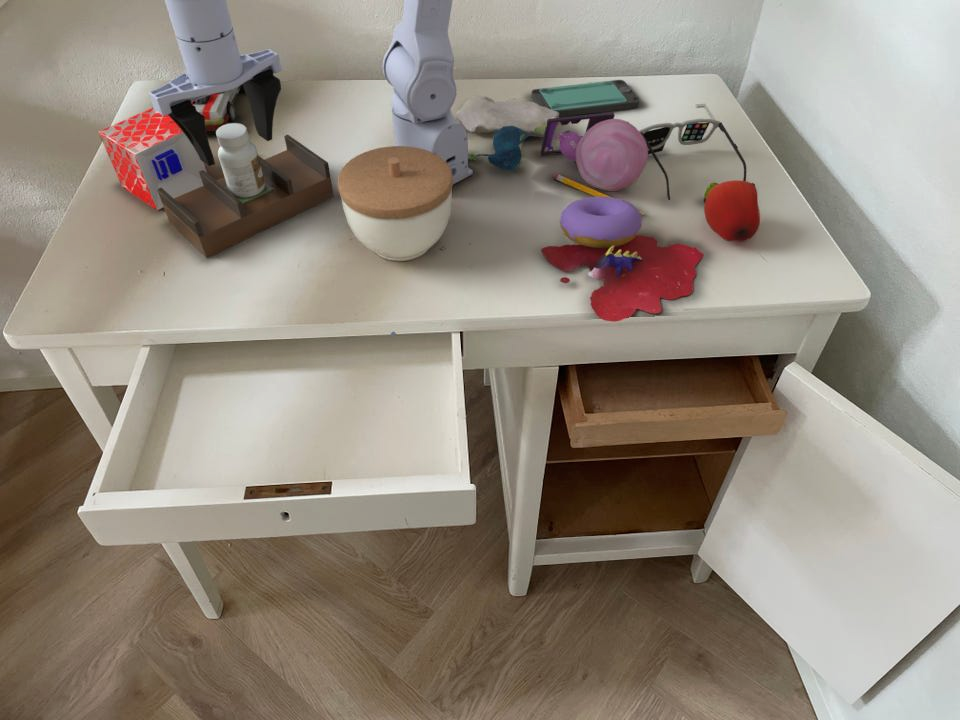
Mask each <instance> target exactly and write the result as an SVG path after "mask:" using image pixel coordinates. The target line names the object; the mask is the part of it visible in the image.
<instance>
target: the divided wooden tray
mask: <svg viewBox="0 0 960 720" xmlns="http://www.w3.org/2000/svg"><path fill="white" fill-rule="evenodd" d="M283 137H284V142H285V146H286V150H284V151H283V150H282V151H281V152H279V153H277V154H274V155H272V156H270V157H267V158H265V159H264V158H263V157H261V156H260V155H259V154H258V157H259V161H260V165H261V169H262V173H263V176H264V180H265V188H264V189H263V191H262V192H260V193H259V194H257V195H255V196H252V197H247V198H240V197H236V196H234V195H233V194H232V193H230V192H229V190H228V187H227V183H226V180H225V177H224V176H223V177H220V178H218V179H215V178H214V177H212V176H211V175H210V174H209V173H208V172H207V173H206V172H205V171H204V170H202V171H199V173H200V177H201V180H202V183H203V185H204V186H202V187H199V188H197V189H195V190H192V191H190V192H188V193H185V194H183V195H181V196H179V197H176V198H172V197H171V196H170V195H169V194H168V193H167V192H166V191H165V190H164V189H163V188H159V189H157V191H158V194H159V196H160V199H161V201H162V204H163V209H164V211H165V214H166V217H167V220H168V223H169V225H170V226H172V227H173V229H175V230H176V231H177V232H178V233H179V234H181V236H182V237H183V238H185V240H186V241H188V243H190V244H191V245H192V246H193V247H194V248H195V249H196V250H197V251H198V252H199V253H201V255H203V257H204V258H206V259H208V258H210V257H213V256H215V255H217V254H219V253H221V252H223V251H226V250H227V249H229V248H231V247H233V246H235V245H238V244H239V243H242V242H244V241H246V240H248V239H250V238H252V237H254V236H255V235H258V234H260V233H262V232H264V231H266V230H269V229H270V228H272V227H275V226H276V225H280V224H281V223H283V222H285V221H287V220H289V219H292V218H294V217H296V216H298V215H299V214H302V213H304V212H306V211H308V210H310V209H312V208H314V207H317V206H319V205H320V204H322V203H324V202H326V201H328V200H330V199H332V198H334V197H335V194H334V187H333V183H332V177H331V171H330V165H329V162H328V161H326V160H325V159H324V158H322V157H321V156H319V155H318V154H317V153H315V152H314V151H312V150H311V149H309V148H308V147H307V146H305V145H303V144H302V143H301V142H299V141H298V140H297V139H295V138H294V137H292V136H291V135H289V134H286V135H284V136H283Z"/></svg>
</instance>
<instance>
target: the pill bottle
mask: <svg viewBox="0 0 960 720" xmlns="http://www.w3.org/2000/svg"><path fill="white" fill-rule="evenodd" d="M215 134H216V139H217V142H218V144H219V145H218V146H219V148H218V150H217V156H218V159H219V163H220V166H221V169H222V173H223V177H225V180H226V183H227V187H228V190H229V192H230V193H232V194H233V195H234V196H236V197H240V198H247V197H252V196H255V195H257V194H259V193H260V192H262V191H263V189H264V188H265V180H264V176H263V173H262V169H261V165H260V161H259V157H258V155H259V153H258V150H257V146H256V145H255V144H254V142H252V141H250V135H249V132H248V128H247V126H245V125H244V124H242V123H239V122H238V123H237V122H229V123H226V125H223V126H221V127H220V128H218V129H217V130H215Z"/></svg>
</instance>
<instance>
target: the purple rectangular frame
mask: <svg viewBox="0 0 960 720" xmlns="http://www.w3.org/2000/svg"><path fill="white" fill-rule="evenodd" d="M615 116H616V115H615V113H614V111H609V112H599V113H590V114H582V115H573V116H565V117H558V118H555V117H552V118H550V119H548V120H547V127H546V129H545V133H544V137H542V141H541V145H540V146H541V147H540V155H541V156H548V155H556V154H557V155H558V154H562V155H563V157H565V158H566V159H568V160H570V161H573V162H576V148H577V145H578V143H579V141H580V140H581V138H582V137H583V135H580V134H579V133H578V132H576V131H573V130H567V131H566V130H565V131H561V133H558V135H557V136H555V138H554V133H555V130H556V128H557V127H558V125H559V124H560V125H561V126H568V125H569V124H570V123H571V125H578V124H579V123H580V122H581V121H584V120H588V122H587V125H586V128H585V132H584V134H585V133H586V132H587V131H588V130H589V129H590V128H591V127H593V126H594V125H595V124H597V123H599V122H602V121H605V120H609V119H615ZM553 138H554V140H557V139H559V140H558V141H559V149H555V150H554V147H553V146H552V141H553ZM546 148H547V150H546Z"/></svg>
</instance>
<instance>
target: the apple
mask: <svg viewBox="0 0 960 720" xmlns="http://www.w3.org/2000/svg"><path fill="white" fill-rule="evenodd" d="M703 203H704V207H703V210H704V217H705V220H706V222H707V224H708V226H709V228H710V229H711V230H712V231H713V232H714V233H715V234H717V235H718V236H719V237H720V238H721V239H723V240H725V241H727V242H746V241H748V240H750V239H752V238H753V237H754V236H756V233H757V231H758V230H759V227H760V225H761V211H760V206H759V199H758V190H757V188H756V184H755V183H754V182H750V181H747V180H746V181H743V180H733V179H732V180H726V181H721V182H720V183H719V182H711V183H710V184H709V185H708V187H706V189H705V191H704V196H703Z"/></svg>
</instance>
